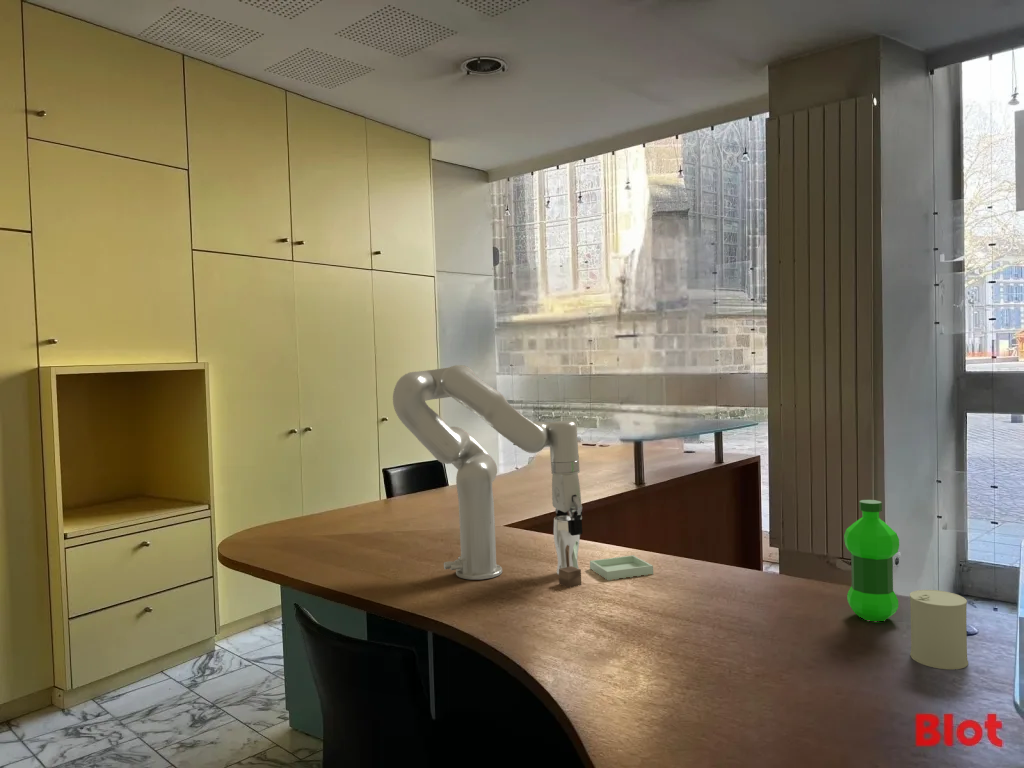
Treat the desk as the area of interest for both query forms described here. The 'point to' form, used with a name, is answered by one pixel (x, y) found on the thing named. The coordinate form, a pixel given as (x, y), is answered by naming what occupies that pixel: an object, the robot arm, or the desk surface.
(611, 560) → the tray
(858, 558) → the plastic bottle
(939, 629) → the can
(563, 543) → the beer glass
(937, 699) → the desk surface
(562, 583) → the walnut block
